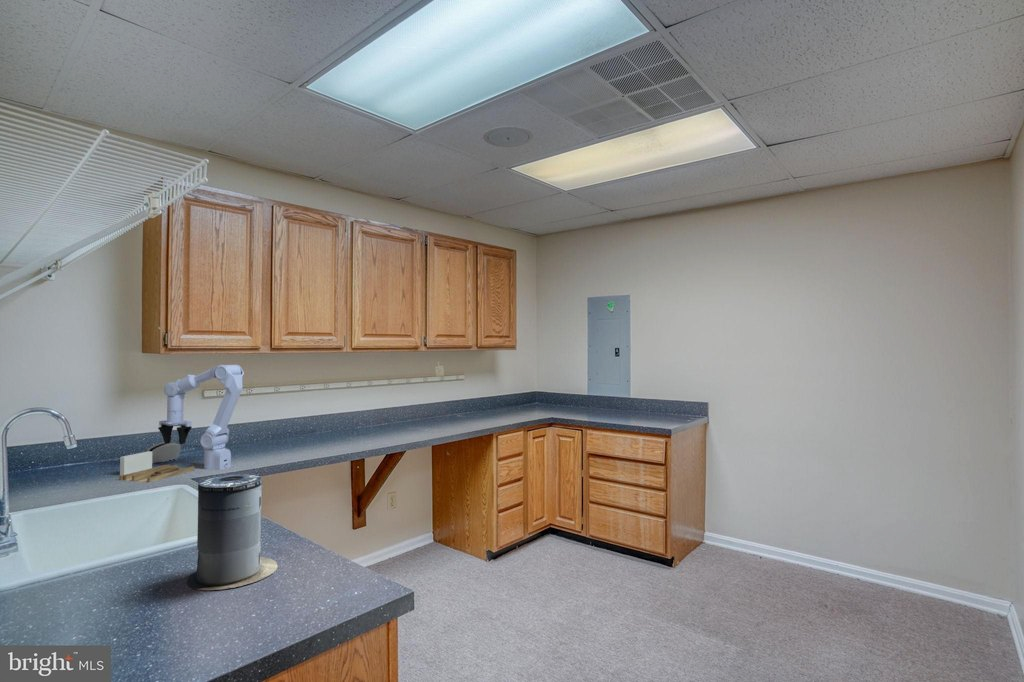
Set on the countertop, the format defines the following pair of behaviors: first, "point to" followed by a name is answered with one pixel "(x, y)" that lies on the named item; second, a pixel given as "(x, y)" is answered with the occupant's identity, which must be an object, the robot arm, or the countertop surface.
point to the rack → (146, 474)
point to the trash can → (229, 534)
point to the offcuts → (164, 471)
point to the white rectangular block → (135, 462)
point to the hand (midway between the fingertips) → (174, 443)
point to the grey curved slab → (164, 451)
